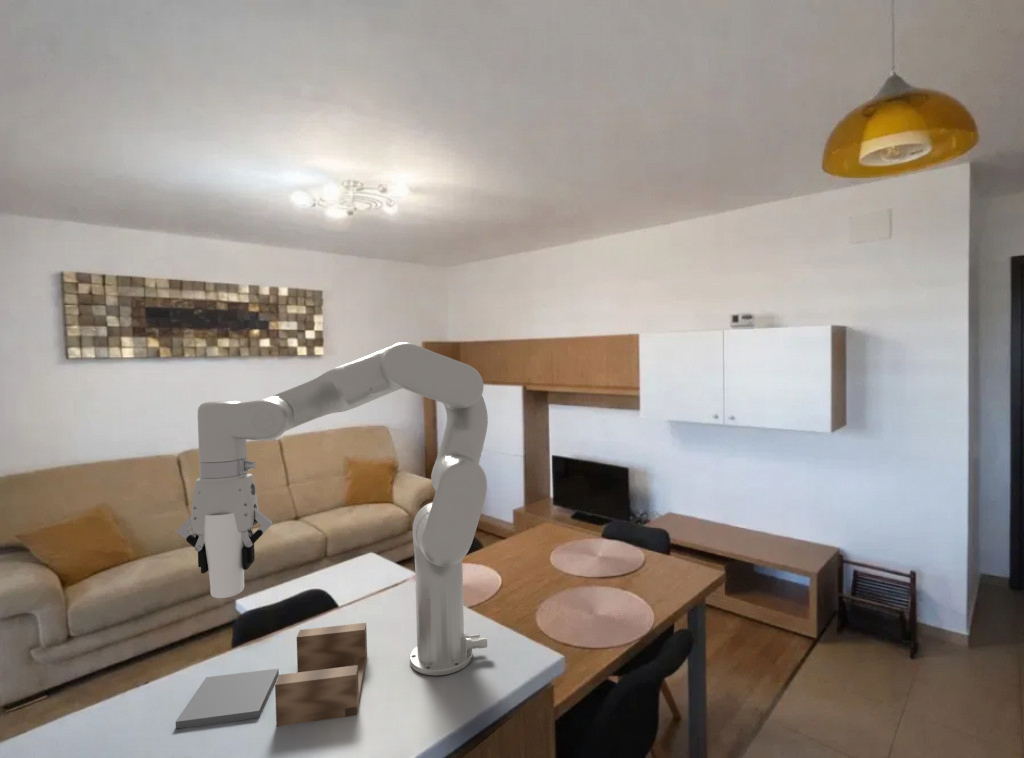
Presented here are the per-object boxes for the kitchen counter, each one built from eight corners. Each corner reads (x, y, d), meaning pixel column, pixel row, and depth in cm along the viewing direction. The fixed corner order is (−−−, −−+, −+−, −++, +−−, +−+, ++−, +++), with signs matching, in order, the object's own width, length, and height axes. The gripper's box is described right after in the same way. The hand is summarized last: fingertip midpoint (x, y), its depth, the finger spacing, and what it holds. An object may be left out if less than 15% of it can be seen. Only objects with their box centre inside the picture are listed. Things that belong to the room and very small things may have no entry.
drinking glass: (230, 602, 90) (227, 516, 90) (196, 600, 92) (193, 515, 92) (257, 586, 97) (253, 505, 97) (225, 584, 98) (222, 505, 98)
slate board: (278, 674, 102) (278, 668, 102) (259, 717, 89) (259, 710, 89) (206, 683, 100) (206, 677, 100) (175, 728, 87) (175, 721, 87)
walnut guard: (367, 656, 108) (366, 622, 108) (357, 715, 90) (355, 674, 89) (300, 664, 106) (299, 629, 106) (276, 726, 87) (275, 684, 87)
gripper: (280, 463, 99) (283, 557, 100) (180, 468, 96) (183, 565, 96) (269, 470, 92) (272, 572, 92) (160, 476, 89) (164, 581, 89)
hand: (227, 567), depth 94 cm, fingers closed on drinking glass, 6 cm apart
